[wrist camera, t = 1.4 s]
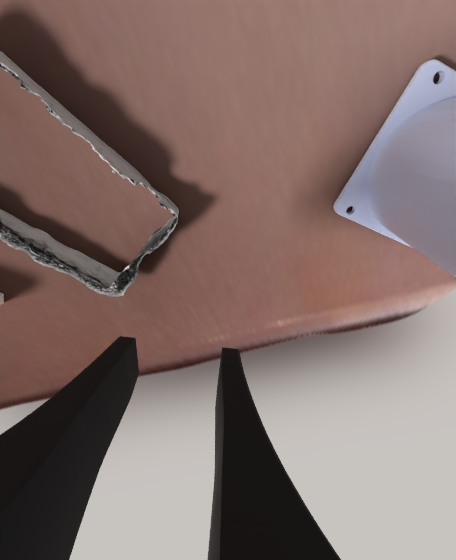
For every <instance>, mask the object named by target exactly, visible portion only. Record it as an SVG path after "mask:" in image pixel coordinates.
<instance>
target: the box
mask: <svg viewBox="0 0 456 560" xmlns="http://www.w3.org/2000/svg"><path fill="white" fill-rule="evenodd" d="M3 303H4V293H0V305H2V304H3Z"/></svg>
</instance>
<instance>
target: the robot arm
mask: <svg viewBox="0 0 456 560" xmlns="http://www.w3.org/2000/svg"><path fill="white" fill-rule="evenodd" d="M437 72H438V73H439V74H440V78H439V80H438V82H437V83H436V84H434V82H433V77H434V75H435V74H436V73H437ZM350 206H353V209H352V211H351V212H349V213H346V210H347V208H348V207H350ZM334 211H335V212H336V213H337V214H339V215H341V216H343V217H345V218H348V219H350V220H352V221H354V222H356V223H359V224H361V225H363V226H365V227H367V228H370V229H372V230H374V231H376V232H378V233H381V234H383V235H385V236H387V237H390V238H392V239H394V240H396V241H398V242H401V243H403V244H405V245H407V246H409V247H412V248H414V249H415V250H417V251H418V252H419V253H421V254H422V255H424V256H425V257H426V258H428V259H429V260H430V261H432V262H433V263H435V264H436V265H437V266H439V267H440V268H442V269H443V270H444V271H446V272H447V273H448V274H450V275H451V276H453V277H454V278H455V279H456V71H455V70H453V69H452V68H450V67H448V66H447V65H445V64H443V63H442V62H440V61H438V60H435V59H433V60H429V61H426V62H425V63H423V64H422V65H421V66H420V67H419V68H418V70H417V71H416V73H415V75H414V76H413V78H412V79H411V81H410V83H409V84H408V86H407V87H406V89H405V91H404V92H403V94H402V95H401V97H400V99H399V100H398V102H397V103H396V105H395V107H394V108H393V110H392V112H391V113H390V115H389V116H388V118H387V120H386V121H385V123H384V124H383V126H382V128H381V129H380V131H379V132H378V134H377V136H376V137H375V139H374V140H373V142H372V144H371V145H370V147H369V148H368V150H367V152H366V153H365V155H364V156H363V158H362V160H361V161H360V163H359V165H358V166H357V168H356V169H355V171H354V173H353V174H352V176H351V177H350V179H349V181H348V182H347V184H346V185H345V187H344V189H343V190H342V192H341V193H340V195H339V197H338V198H337V200H336V201H335V203H334ZM138 374H139V368H138V359H137V349H136V339H135V338H130V337H121V336H120V337H119V338H117V339H116V340H115V341H114V342H113V343H112V344H111V345H110V346H109V347H108V348H107V349H106V350H105V351H104V352H103V353H102V354H101V355H100V356H99V357H98V358H96V359H95V360H94V361H93V362H92V363H91V364H90V365H89V366H88V367H87V368H85V369H84V370H83V371H82V372H81V373H80V374H79V375H78V376H77V377H75V378H74V379H73V380H72V381H71V382H70V383H68V384H67V385H66V386H65V387H64V388H62V389H61V390H60V391H59V392H58V393H56V394H55V395H54V396H53V397H51V398H50V399H49V400H48V401H46V402H45V403H44V404H43V405H41V406H40V407H39V408H37V409H36V410H35V411H33V412H32V413H31V414H29V415H28V416H27V417H25V418H24V419H23V420H21V421H20V422H19V423H17V424H16V425H14V426H13V427H11V428H10V429H8V430H7V431H5V432H4V433H2V434H1V435H0V560H69V558H70V555H71V552H72V549H73V546H74V543H75V539H76V536H77V533H78V530H79V527H80V524H81V521H82V518H83V515H84V512H85V509H86V506H87V503H88V500H89V498H90V495H91V492H92V489H93V486H94V483H95V481H96V478H97V475H98V472H99V469H100V467H101V464H102V462H103V459H104V457H105V455H106V452H107V450H108V448H109V446H110V443H111V441H112V439H113V437H114V434H115V432H116V430H117V428H118V426H119V423H120V421H121V419H122V416H123V414H124V412H125V410H126V408H127V405H128V403H129V401H130V399H131V396H132V393H133V390H134V386H135V383H136V380H137V377H138ZM214 479H215V481H214V492H213V504H212V516H211V529H210V540H209V551H208V560H341V559H340V558H339V556H338V555H337V553H336V552H335V550H334V549H333V547H332V546H331V544H330V543H329V542H328V540H327V538H326V537H325V535H324V534H323V532H322V531H321V529H320V528H319V526H318V525H317V523H316V521H315V520H314V518H313V516H312V515H311V513H310V512H309V510H308V508H307V507H306V505H305V504H304V502H303V500H302V498H301V497H300V495H299V493H298V492H297V490H296V488H295V487H294V485H293V483H292V481H291V479H290V478H289V476H288V474H287V473H286V471H285V469H284V467H283V465H282V463H281V461H280V459H279V458H278V455H277V454H276V452H275V450H274V448H273V445H272V443H271V441H270V439H269V437H268V435H267V433H266V431H265V428H264V426H263V424H262V422H261V419H260V417H259V414H258V412H257V409H256V407H255V404H254V402H253V399H252V396H251V393H250V390H249V387H248V384H247V381H246V378H245V374H244V371H243V367H242V363H241V358H240V351H239V350H238V349H231V348H222V354H221V362H220V369H219V377H218V386H217V397H216V406H215V478H214Z"/></svg>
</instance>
